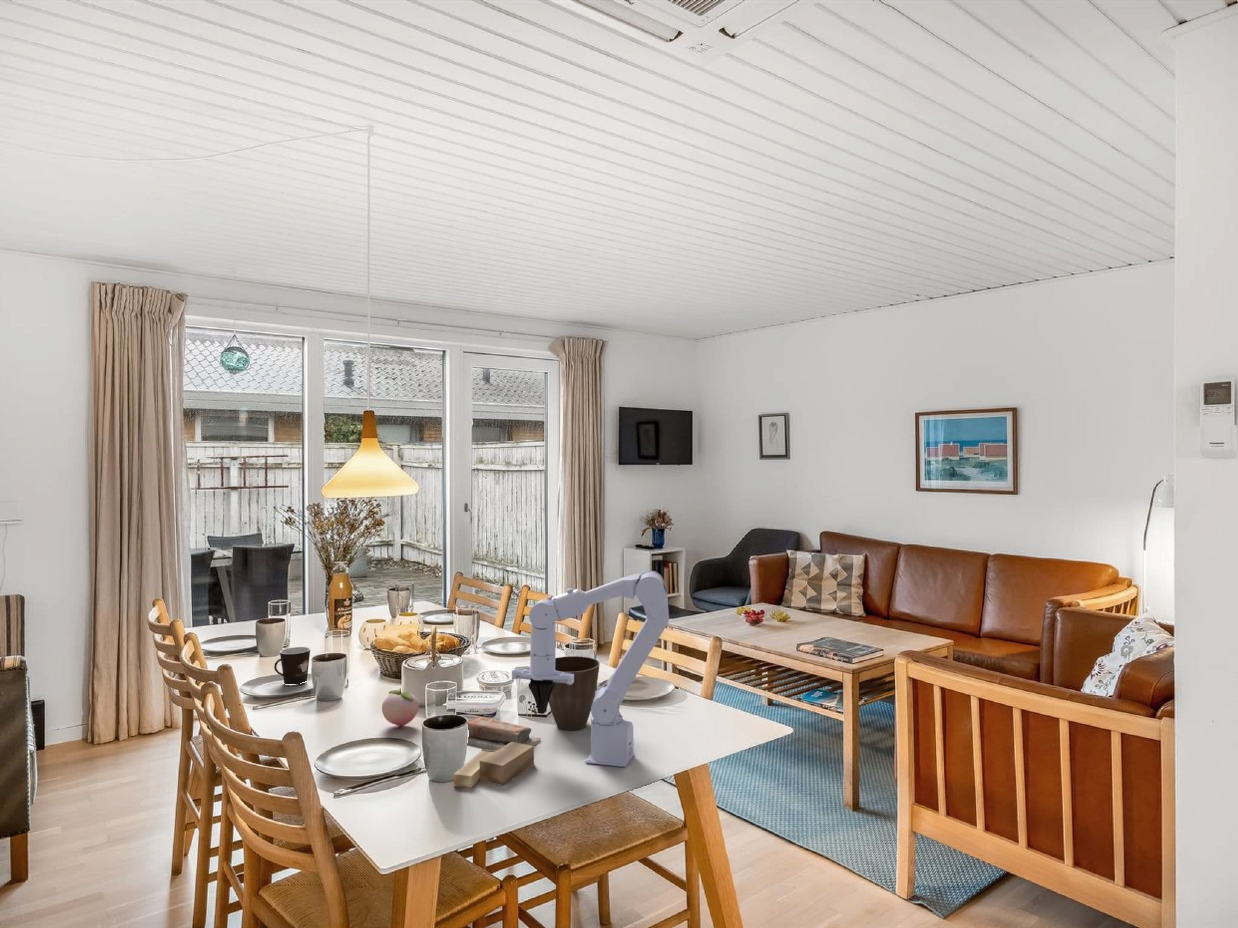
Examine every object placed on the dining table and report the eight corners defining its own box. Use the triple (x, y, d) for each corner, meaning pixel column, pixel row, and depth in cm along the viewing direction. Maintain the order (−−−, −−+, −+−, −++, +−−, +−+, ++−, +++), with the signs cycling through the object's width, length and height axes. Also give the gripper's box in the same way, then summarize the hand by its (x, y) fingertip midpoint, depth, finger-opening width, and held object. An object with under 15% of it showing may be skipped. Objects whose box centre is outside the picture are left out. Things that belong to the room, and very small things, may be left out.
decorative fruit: (374, 729, 195) (373, 690, 195) (396, 719, 203) (396, 681, 202) (403, 735, 191) (402, 695, 191) (424, 724, 198) (424, 686, 198)
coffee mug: (304, 677, 242) (304, 645, 242) (315, 682, 236) (314, 650, 236) (265, 684, 234) (265, 651, 234) (275, 690, 228) (275, 657, 228)
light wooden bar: (499, 761, 174) (499, 750, 174) (471, 787, 161) (471, 775, 161) (483, 760, 175) (482, 748, 175) (453, 785, 162) (453, 773, 162)
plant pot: (544, 738, 188) (544, 673, 188) (538, 718, 203) (538, 657, 203) (605, 733, 191) (604, 669, 191) (594, 713, 206) (594, 654, 206)
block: (534, 765, 173) (533, 745, 172) (503, 786, 162) (502, 765, 162) (511, 761, 175) (511, 741, 175) (479, 781, 164) (479, 760, 164)
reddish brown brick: (456, 723, 186) (482, 711, 195) (456, 743, 187) (482, 730, 195) (516, 736, 178) (541, 723, 187) (517, 757, 178) (541, 743, 187)
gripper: (506, 654, 174) (505, 714, 175) (567, 660, 170) (566, 721, 171) (518, 647, 181) (518, 704, 181) (577, 652, 177) (576, 711, 177)
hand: (542, 712), depth 176 cm, fingers closed
